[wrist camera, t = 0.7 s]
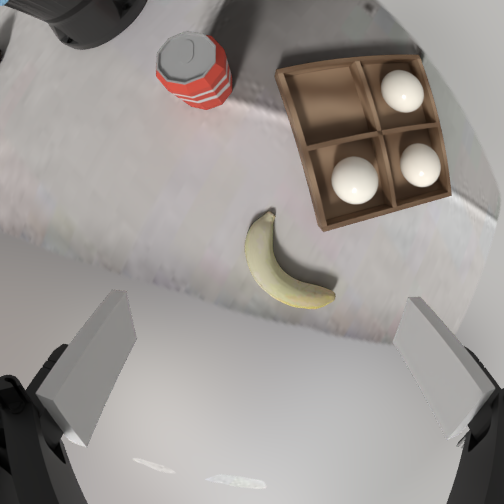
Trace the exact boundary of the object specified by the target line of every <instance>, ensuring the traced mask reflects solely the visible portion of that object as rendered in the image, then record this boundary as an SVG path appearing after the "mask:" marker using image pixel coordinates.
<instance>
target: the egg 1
mask: <svg viewBox="0 0 504 504" xmlns="http://www.w3.org/2000/svg"><path fill="white" fill-rule="evenodd" d="M331 182H332V186H333V189H334V191H335V193H336V194H337V196H338V197H339V198H340V199H342V200H343V201H345V202H347V203H350V204H362V203H365V202H367V201H369V200H370V199H371V198H372V197H373V196H374V195H375V193H376V191H377V188H378V175H377V172H376V170H375V168H374V167H373V165H372V164H371V163H370V162H369V161H367V160H366V159H363V158H361V157H356V156H352V157H347V158H344V159H343V160H341V161H340V162H338V163H337V165H336V166H335V167H334V169H333V172H332V177H331Z"/></svg>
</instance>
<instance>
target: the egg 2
mask: <svg viewBox="0 0 504 504" xmlns="http://www.w3.org/2000/svg"><path fill="white" fill-rule="evenodd" d="M381 93H382V96H383V98H384V100H385V102H386V103H387V104H388V105H389V106H390V107H391V108H393V109H394V110H396V111H399V112H404V113H409V112H413V111H415V110H416V109H418V108H419V107H420V106H421V104H422V102H423V99H424V90H423V87H422V85H421V83H420V81H419V80H418V79H417V78H416V77H415V76H414V75H413V74H411V73H409V72H407V71H403V70H395V71H391V72H389V73H388V74H387V75H386V76H385V77H384V78H383V80H382V83H381Z"/></svg>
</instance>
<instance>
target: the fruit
mask: <svg viewBox="0 0 504 504" xmlns="http://www.w3.org/2000/svg"><path fill="white" fill-rule="evenodd" d="M274 219H275V215H274V214H273V213H271V212H270V211H268V212H267V213H266V214H265V215H263V216H262V217H261V218H259V219H258V220H257V221H255V222H254V223H253V224H252V226H251V227H250V229H249V231H248V233H247V236H246V240H245V254H246V259H247V263H248V266H249V269H250V271H251V273H252V275H253V277H254V279H255V280H256V282H257V283H258V284H259V286H260V287H261V288H262V289H263V290H265V291H266V292H267V293H268V294H269V295H271V296H272V297H274V298H275V299H277V300H278V301H280V302H282V303H285V304H287V305H290V306H293V307H298V308H307V309H312V310H313V309H317V308H321V307H324V306H325V305H327V304H329V303H331V302H333V301H334V300H335V293H334V292H333V291H331V290H329V289H327V288H324V287H321V286H317V285H313V284H309V283H304V282H301V281H299V280H296V279H294V278H292V277H291V276H289V275H288V274H286V273H285V272H284V271H283V270H282V269H281V268H280V266H279V265H278V263H277V261H276V259H275V256H274V253H273V222H274Z"/></svg>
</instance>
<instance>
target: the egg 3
mask: <svg viewBox="0 0 504 504" xmlns="http://www.w3.org/2000/svg"><path fill="white" fill-rule="evenodd" d="M400 169H401V172H402V174H403V176H404V177H405V179H406V180H407V181H408V182H409V183H411V184H412V185H415V186H417V187H427V186H430V185H432V184H433V183H434V182H435V181H436V180H437V179H438V177H439V175H440V171H441V164H440V160H439V157H438V155H437V154H436V152H435V151H434V150H433V149H432V148H431V147H429V146H427V145H425V144H421V143H416V144H412V145H410V146H408V147H407V148H406V149H405V150H404V151H403V153H402V155H401V158H400Z"/></svg>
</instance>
